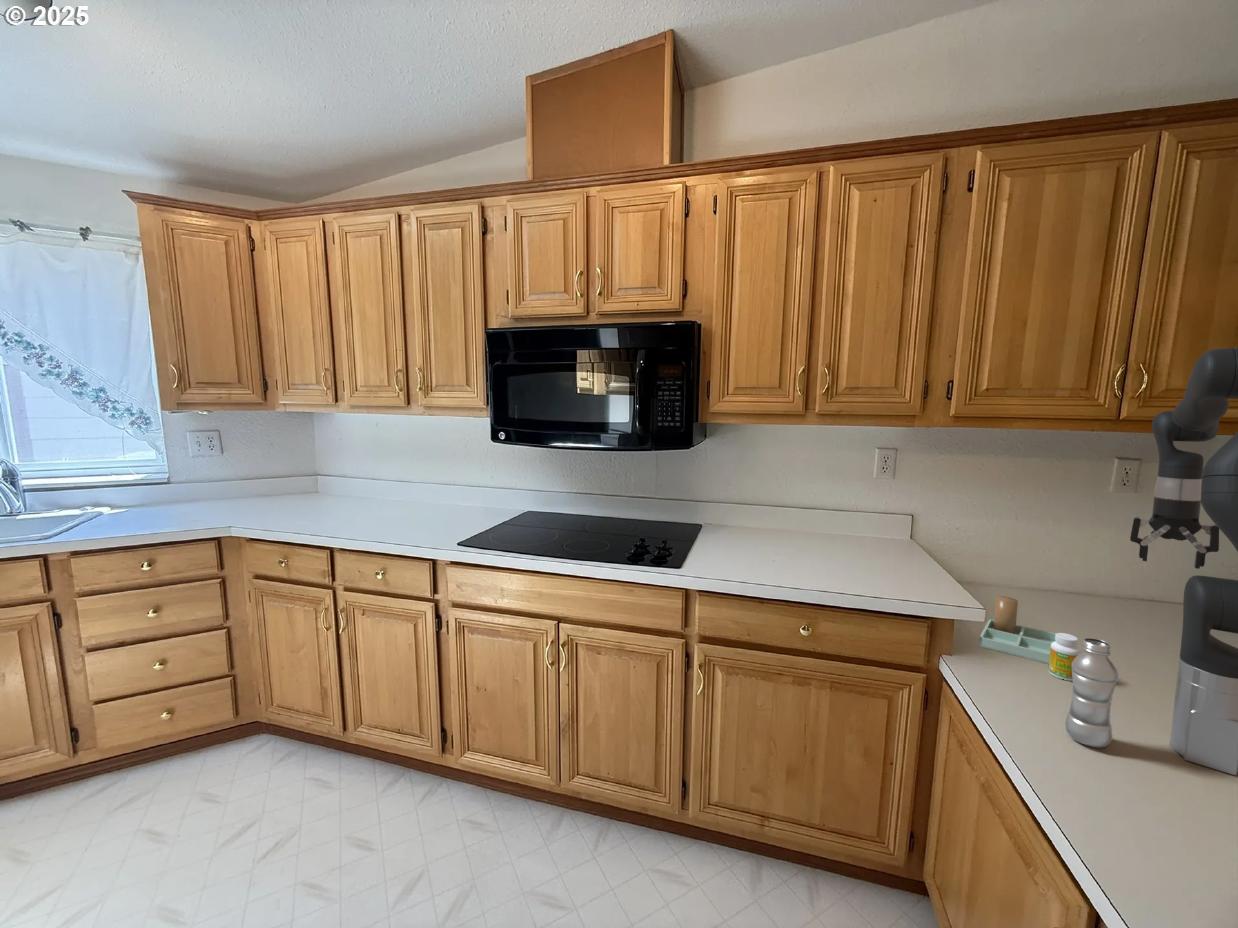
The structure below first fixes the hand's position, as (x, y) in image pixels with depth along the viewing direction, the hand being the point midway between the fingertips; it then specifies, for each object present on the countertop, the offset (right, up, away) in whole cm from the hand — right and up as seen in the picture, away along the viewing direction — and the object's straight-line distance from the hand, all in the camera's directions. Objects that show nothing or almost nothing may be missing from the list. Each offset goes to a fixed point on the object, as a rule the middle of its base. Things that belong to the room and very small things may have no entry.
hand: (1170, 564), depth 123 cm
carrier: (-24, -25, +15) cm, 38 cm away
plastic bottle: (-41, -30, -24) cm, 56 cm away
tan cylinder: (-24, -23, +21) cm, 39 cm away
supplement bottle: (-26, -27, 0) cm, 37 cm away
